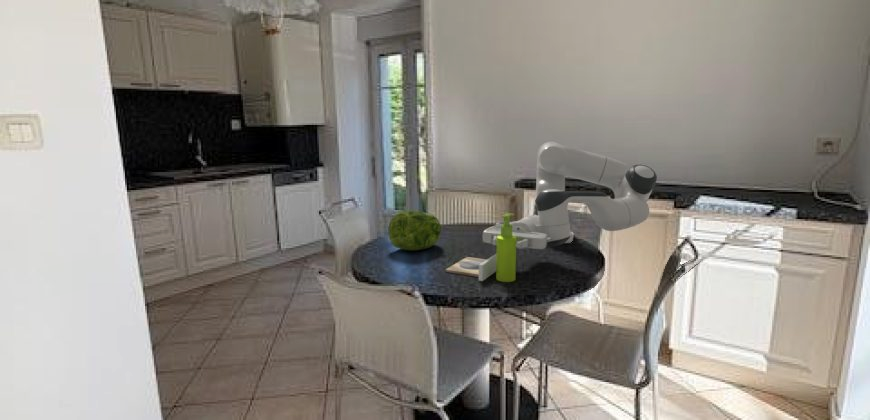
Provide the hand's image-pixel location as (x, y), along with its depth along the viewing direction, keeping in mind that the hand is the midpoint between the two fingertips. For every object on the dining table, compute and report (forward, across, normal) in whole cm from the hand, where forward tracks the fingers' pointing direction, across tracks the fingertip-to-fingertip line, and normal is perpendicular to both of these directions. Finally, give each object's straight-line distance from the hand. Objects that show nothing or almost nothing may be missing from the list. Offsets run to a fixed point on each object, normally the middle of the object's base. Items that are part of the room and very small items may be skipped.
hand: (505, 244), depth 142 cm
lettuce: (-18, +42, -11) cm, 47 cm away
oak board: (-6, +14, -11) cm, 18 cm away
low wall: (-5, +6, -11) cm, 13 cm away
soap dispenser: (-1, 0, -11) cm, 11 cm away
